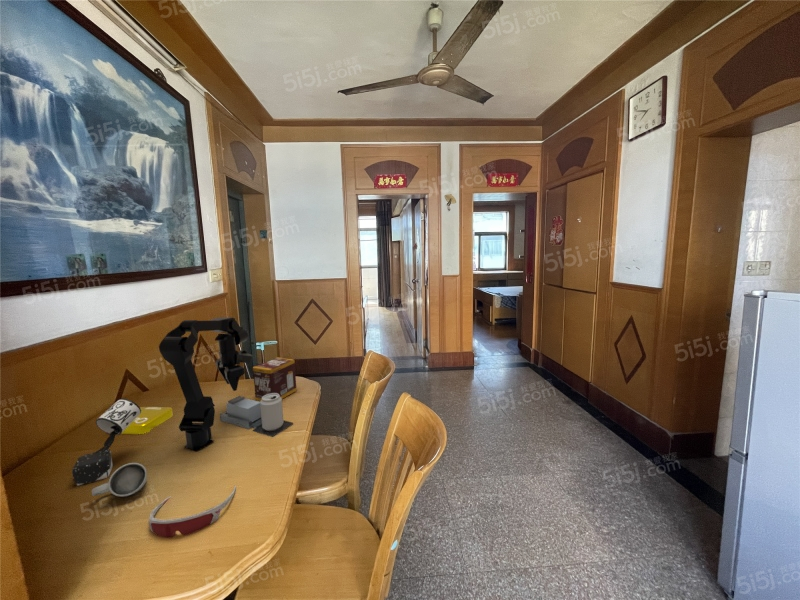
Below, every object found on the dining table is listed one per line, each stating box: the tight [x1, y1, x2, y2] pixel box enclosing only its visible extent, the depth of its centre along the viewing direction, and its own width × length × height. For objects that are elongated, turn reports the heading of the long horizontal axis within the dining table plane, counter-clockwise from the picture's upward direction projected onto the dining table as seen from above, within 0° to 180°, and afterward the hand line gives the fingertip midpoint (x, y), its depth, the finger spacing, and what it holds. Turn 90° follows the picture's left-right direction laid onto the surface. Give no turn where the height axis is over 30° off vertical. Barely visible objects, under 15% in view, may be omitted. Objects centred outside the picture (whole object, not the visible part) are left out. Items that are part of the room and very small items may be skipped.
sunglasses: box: [148, 484, 237, 538], centre depth 81 cm, size 17×17×5 cm
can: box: [259, 393, 285, 431], centre depth 120 cm, size 8×8×12 cm
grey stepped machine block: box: [226, 395, 261, 422], centre depth 127 cm, size 6×12×7 cm, turn 65°
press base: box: [219, 410, 294, 438], centre depth 125 cm, size 10×28×3 cm, turn 65°
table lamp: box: [71, 398, 141, 487], centre depth 98 cm, size 25×10×10 cm
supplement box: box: [252, 356, 297, 402], centre depth 149 cm, size 10×15×16 cm
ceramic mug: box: [91, 462, 148, 498], centre depth 87 cm, size 11×8×8 cm
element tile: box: [120, 406, 174, 435], centre depth 126 cm, size 15×15×5 cm
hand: (231, 387), depth 129 cm, fingers open, 9 cm apart
